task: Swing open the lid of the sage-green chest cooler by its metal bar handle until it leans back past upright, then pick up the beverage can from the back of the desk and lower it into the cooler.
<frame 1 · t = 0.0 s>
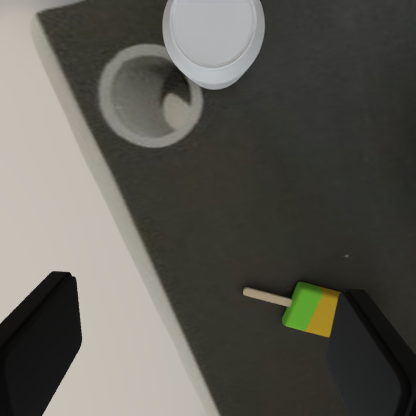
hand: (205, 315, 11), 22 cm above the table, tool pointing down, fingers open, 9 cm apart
beverage can: (214, 54, 29), on the table
popsicle: (303, 301, 37), on the table
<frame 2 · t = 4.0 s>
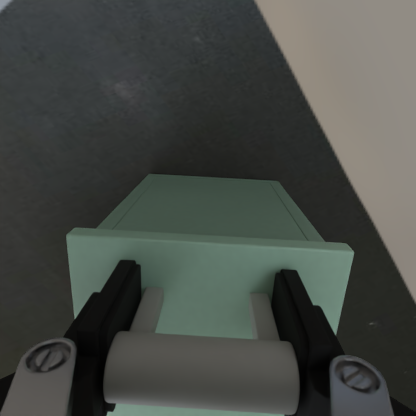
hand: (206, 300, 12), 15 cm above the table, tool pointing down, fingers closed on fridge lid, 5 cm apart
fridge: (209, 246, 27), on the table
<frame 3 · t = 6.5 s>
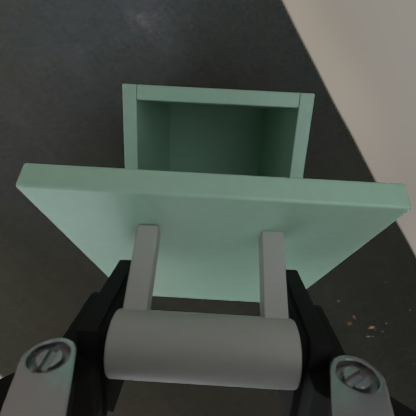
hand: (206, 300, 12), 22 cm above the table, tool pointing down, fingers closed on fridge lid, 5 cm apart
fridge: (214, 162, 32), on the table
fridge lid: (205, 310, 13), point 21 cm above the table, hinge at 44.8°, touching gripper
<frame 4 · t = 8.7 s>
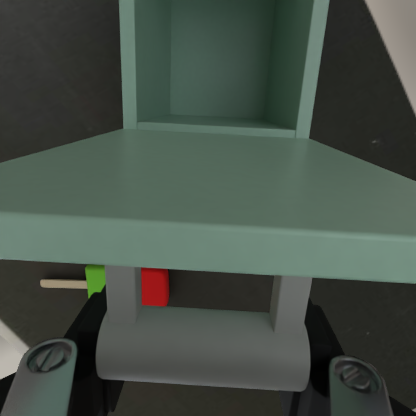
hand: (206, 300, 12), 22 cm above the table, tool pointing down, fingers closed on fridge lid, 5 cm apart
fridge: (220, 54, 29), on the table
popsicle: (107, 279, 37), on the table
fridge lid: (210, 221, 12), point 21 cm above the table, hinge at 90.3°, touching gripper
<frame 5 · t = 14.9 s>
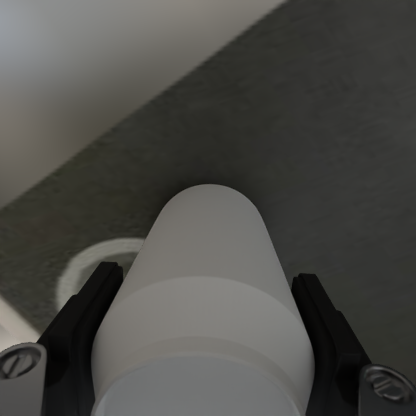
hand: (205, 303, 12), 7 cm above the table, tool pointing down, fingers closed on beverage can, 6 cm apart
beverage can: (210, 229, 18), on the table, touching gripper
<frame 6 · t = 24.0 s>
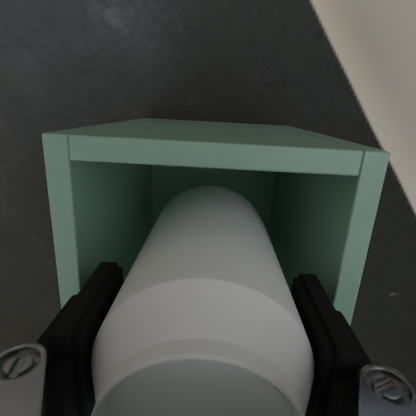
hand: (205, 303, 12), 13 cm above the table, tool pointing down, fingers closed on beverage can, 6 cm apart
beverage can: (210, 230, 18), point 6 cm above the table, touching gripper
fridge: (211, 204, 24), on the table
when the fingers open (14 cm above the table, at t = 29.5 s): beverage can drops 6 cm, resting on fridge.
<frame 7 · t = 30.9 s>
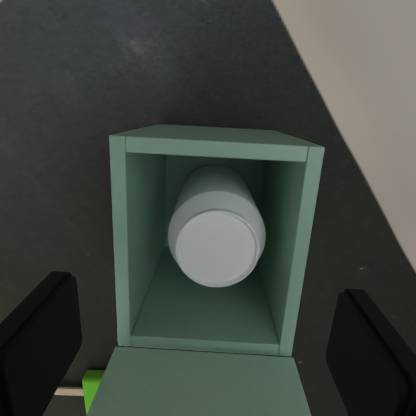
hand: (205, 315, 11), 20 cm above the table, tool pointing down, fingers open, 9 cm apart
beverage can: (214, 194, 29), point 1 cm above the table, touching fridge
fridge: (212, 193, 30), on the table
popsicle: (104, 384, 38), on the table
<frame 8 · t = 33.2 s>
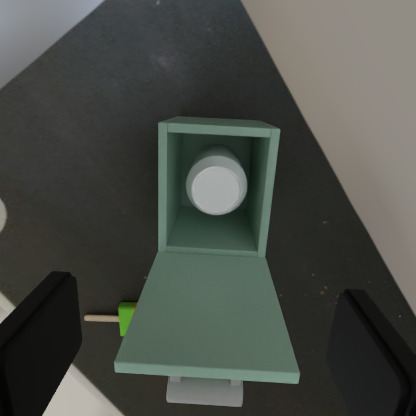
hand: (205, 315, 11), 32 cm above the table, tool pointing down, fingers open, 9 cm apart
beverage can: (216, 166, 41), point 1 cm above the table, touching fridge
fridge: (215, 166, 42), on the table
popsicle: (133, 314, 50), on the table
fridge lid: (208, 323, 25), point 21 cm above the table, hinge at 90.8°
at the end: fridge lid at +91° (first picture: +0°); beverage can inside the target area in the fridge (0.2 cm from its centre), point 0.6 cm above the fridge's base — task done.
